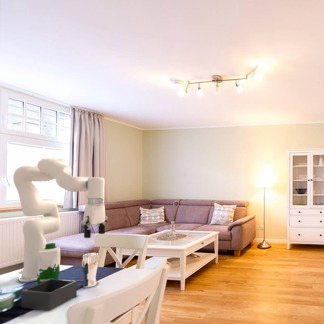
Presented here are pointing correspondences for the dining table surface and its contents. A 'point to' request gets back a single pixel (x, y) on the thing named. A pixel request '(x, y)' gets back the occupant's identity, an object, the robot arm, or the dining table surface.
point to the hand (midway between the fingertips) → (94, 235)
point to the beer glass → (89, 269)
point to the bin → (49, 294)
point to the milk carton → (48, 263)
